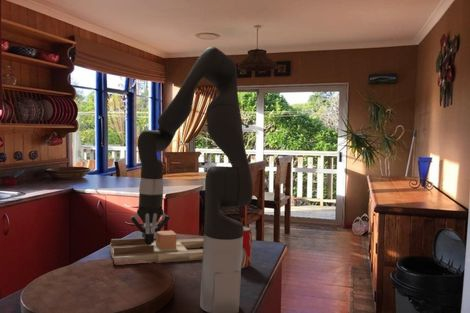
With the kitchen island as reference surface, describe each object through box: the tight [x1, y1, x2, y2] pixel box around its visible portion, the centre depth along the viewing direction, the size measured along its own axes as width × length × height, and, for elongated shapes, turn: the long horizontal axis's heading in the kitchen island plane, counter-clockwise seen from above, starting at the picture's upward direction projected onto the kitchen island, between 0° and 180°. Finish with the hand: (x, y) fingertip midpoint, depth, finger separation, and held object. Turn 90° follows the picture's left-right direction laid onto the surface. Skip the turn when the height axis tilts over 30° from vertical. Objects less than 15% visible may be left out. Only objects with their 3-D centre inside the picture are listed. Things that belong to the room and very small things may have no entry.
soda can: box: [241, 225, 253, 269], centre depth 123 cm, size 7×7×12 cm
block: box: [156, 230, 177, 249], centre depth 131 cm, size 6×6×4 cm
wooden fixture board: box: [109, 237, 204, 264], centre depth 131 cm, size 16×35×4 cm, turn 112°
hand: (148, 244), depth 128 cm, fingers closed
